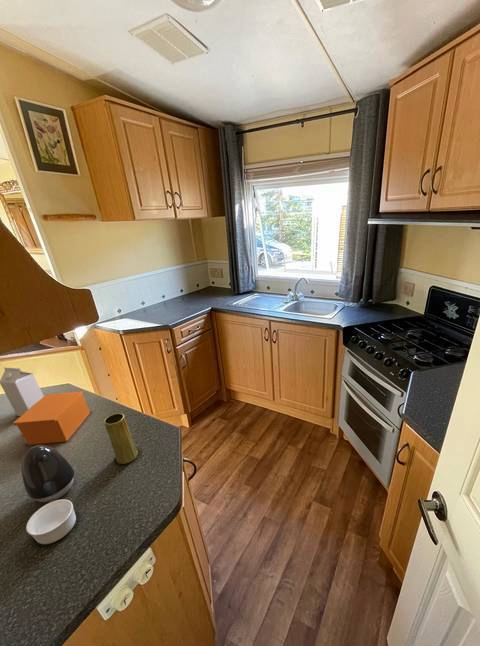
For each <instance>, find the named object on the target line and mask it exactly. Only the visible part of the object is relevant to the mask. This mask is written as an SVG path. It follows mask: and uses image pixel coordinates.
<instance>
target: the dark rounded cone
mask: <svg viewBox="0 0 480 646" xmlns="http://www.w3.org/2000/svg"><path fill="white" fill-rule="evenodd" d="M21 476H22V478H21V479H22V482H23V483H22V484H23V486H24V490H25V492H26V495H27V496H28V497H29V498H31V499H33V500H35V501H36V502H40V503H50V502H53V501H56V500H59V499H60V498H61V497H63V496H64V495H66V494H67V493H68V492H69V491H70V489H71V488H72V485H73V483H74V479H75V478H74V477H75V471H74V468H73V467H72V465H71V464H70V462H69V461H68V460H67V459H66V458H65V457H64V456H63V455H62V454H61V453H59V451H58V450H55V449H54V448H52V447H51V446H48V445H46V444H36V445H34V446H31V447H30V448H28V449H27V451H26V452H25V453H24V454H23V457H22V461H21Z"/></svg>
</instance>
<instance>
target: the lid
mask: <svg viewBox="0 0 480 646" xmlns="http://www.w3.org/2000/svg"><path fill="white" fill-rule="evenodd" d="M81 394H83V391H72V392H70V391H69V392H59V393H47V394H45V395H43V396H44V397H42V398H41V399H40V400H39V401H38V402H37V403H35V404H34V405H33V406H32V407H31V408H30V409H29V410H27V411H26V412H25V413H24V414H23V415H22V416H18V418H17V419H16V420H15V421H13V422H12V425H13V426H17V425H20V424H33V423H45V422H56V420H57V419H58V418H59V417H60V416H61V415H62V414H63V413H64V412H65V411H66V410H67V409H68V408H69V407H70V406H71V405H72V404H73V403H74V402H75V400H76V399H77V398H78V397H79V396H80V395H81Z"/></svg>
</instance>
